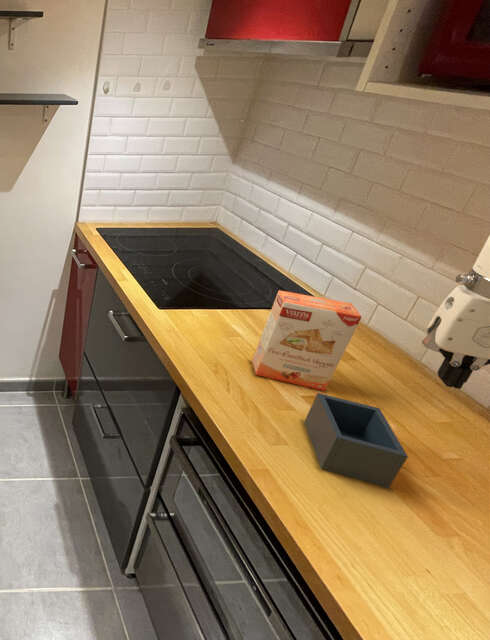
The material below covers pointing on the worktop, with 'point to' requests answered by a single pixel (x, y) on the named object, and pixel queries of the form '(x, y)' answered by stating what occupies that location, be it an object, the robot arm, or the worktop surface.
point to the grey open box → (354, 440)
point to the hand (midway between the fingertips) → (448, 382)
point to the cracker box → (304, 339)
